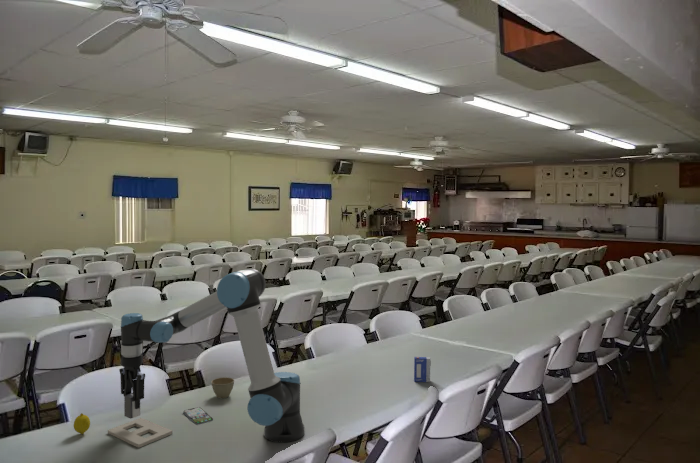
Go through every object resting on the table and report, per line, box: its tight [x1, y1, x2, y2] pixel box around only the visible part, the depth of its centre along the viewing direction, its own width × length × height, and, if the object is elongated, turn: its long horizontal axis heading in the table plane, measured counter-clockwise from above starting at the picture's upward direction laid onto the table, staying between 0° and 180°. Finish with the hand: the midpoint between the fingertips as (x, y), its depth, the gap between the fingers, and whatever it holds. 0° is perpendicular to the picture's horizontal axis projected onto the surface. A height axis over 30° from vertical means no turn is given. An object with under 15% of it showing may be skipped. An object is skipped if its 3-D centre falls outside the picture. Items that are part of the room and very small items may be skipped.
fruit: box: [73, 413, 91, 435], centre depth 196 cm, size 6×6×8 cm
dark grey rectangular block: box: [123, 392, 133, 419], centre depth 199 cm, size 4×4×8 cm
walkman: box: [413, 356, 432, 383], centre depth 257 cm, size 8×3×12 cm, turn 86°
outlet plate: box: [107, 417, 173, 448], centre depth 197 cm, size 20×14×1 cm
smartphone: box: [183, 406, 214, 425], centre depth 213 cm, size 7×1×15 cm
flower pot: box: [210, 376, 235, 399], centre depth 235 cm, size 10×10×7 cm
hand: (132, 414), depth 199 cm, fingers closed on dark grey rectangular block, 4 cm apart
